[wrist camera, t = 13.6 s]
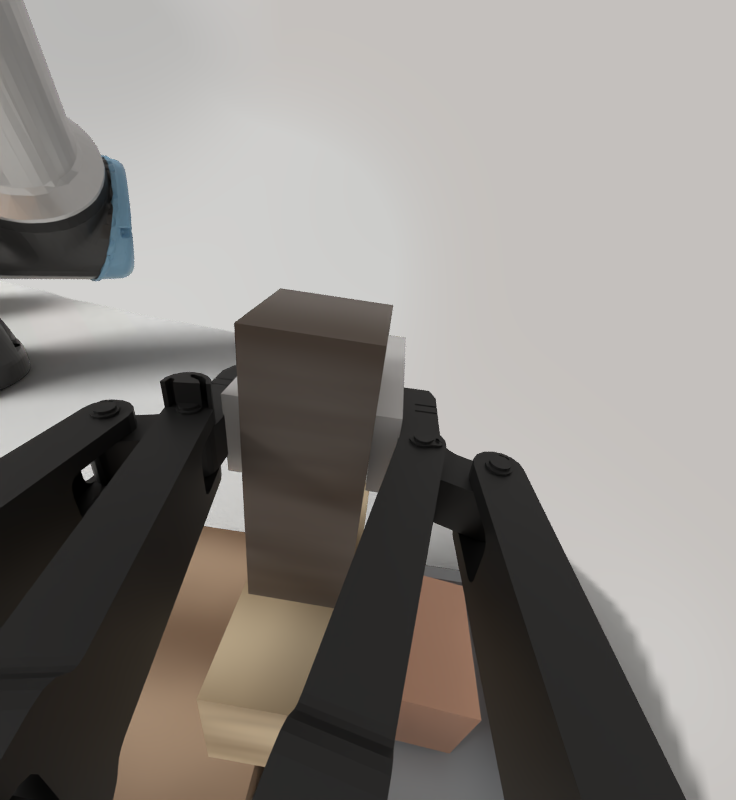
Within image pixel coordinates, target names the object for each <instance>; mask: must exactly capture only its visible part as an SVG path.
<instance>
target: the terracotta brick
mask: <svg viewBox="0 0 736 800" xmlns="http://www.w3.org/2000/svg"><path fill="white" fill-rule="evenodd" d="M480 721H481V714H480V707H479V700H478V692H477V685H476V677H475V670H474V662H473V655H472V648H471V640H470V633H469V625H468V618H467V610H466V603H465V596H464V591H463V586H461V585H457V584H453V583H449V582H446V581H442V580H438V579H435V578H431V577H427V576H423V582H422V588H421V593H420V599H419V605H418V611H417V616H416V622H415V628H414V633H413V639H412V645H411V650H410V656H409V662H408V667H407V673H406V679H405V685H404V690H403V696H402V702H401V707H400V713H399V719H398V724H397V730H396V736H395V740H397V741H401V742H405V743H409V744H413V745H417V746H421V747H425V748H429V749H433V750H437V751H441V752H445V753H450V752H451V751H452V750H453V749H454V748H455V747H456V746H457V745H458V744H459V743H460V742H461V741H462V740H463V739H464V738H465V737H466V736H467V735H468V734H469V733H470V732H471V731H472V730H473V729H474V728H475V727H476V726H477V724H478V723H479V722H480Z"/></svg>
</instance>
